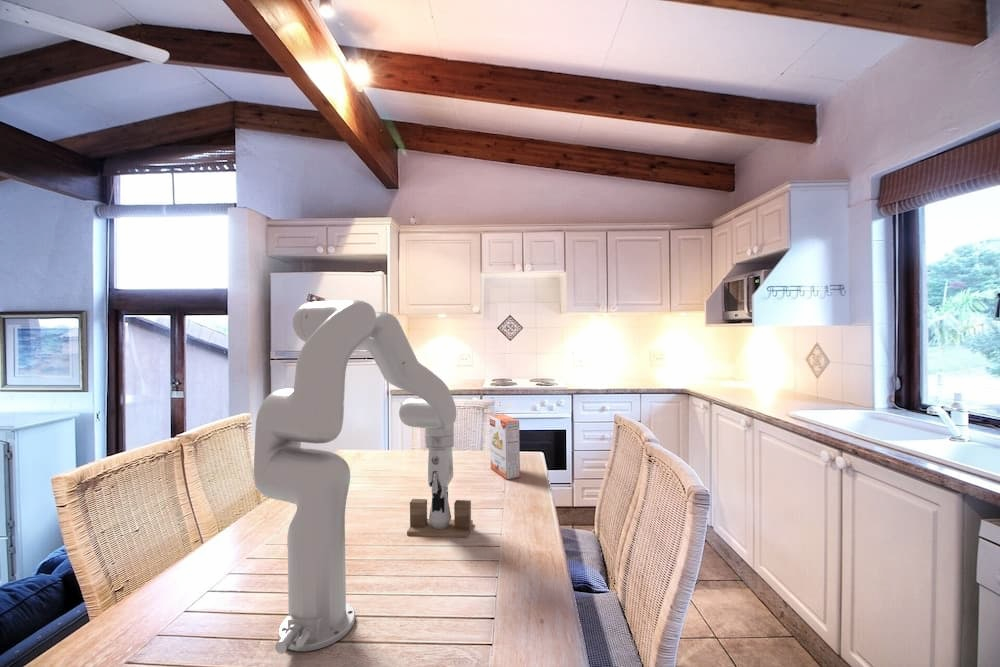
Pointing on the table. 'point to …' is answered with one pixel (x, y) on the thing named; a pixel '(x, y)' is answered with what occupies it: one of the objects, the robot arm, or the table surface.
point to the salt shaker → (441, 514)
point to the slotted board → (455, 527)
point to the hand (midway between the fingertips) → (440, 508)
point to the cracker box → (505, 446)
